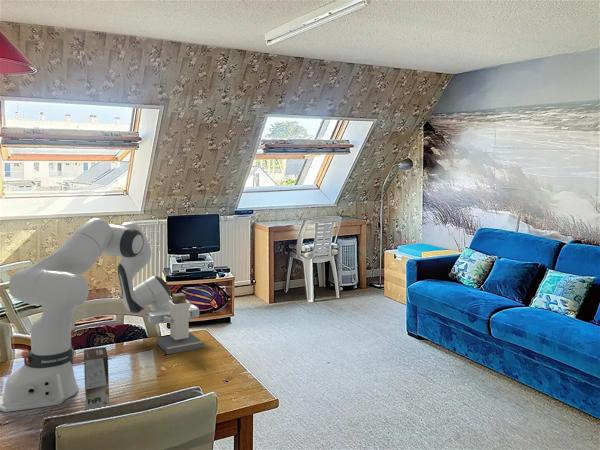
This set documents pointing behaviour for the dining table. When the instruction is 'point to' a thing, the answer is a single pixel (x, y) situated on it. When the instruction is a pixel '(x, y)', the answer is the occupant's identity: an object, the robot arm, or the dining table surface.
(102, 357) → the coffee box
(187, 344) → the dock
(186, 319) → the white tall block
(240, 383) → the dining table surface
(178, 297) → the block
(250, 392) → the dining table surface
